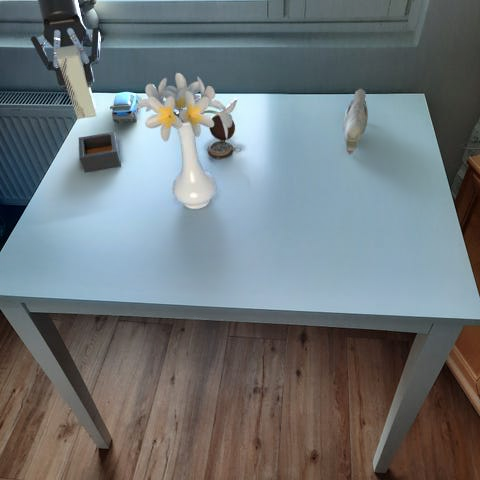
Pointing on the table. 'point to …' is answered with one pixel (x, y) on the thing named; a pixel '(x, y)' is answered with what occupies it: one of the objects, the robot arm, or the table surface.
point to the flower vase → (187, 132)
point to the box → (76, 81)
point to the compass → (221, 140)
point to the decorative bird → (355, 120)
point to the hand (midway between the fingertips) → (77, 87)
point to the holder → (99, 152)
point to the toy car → (125, 107)
